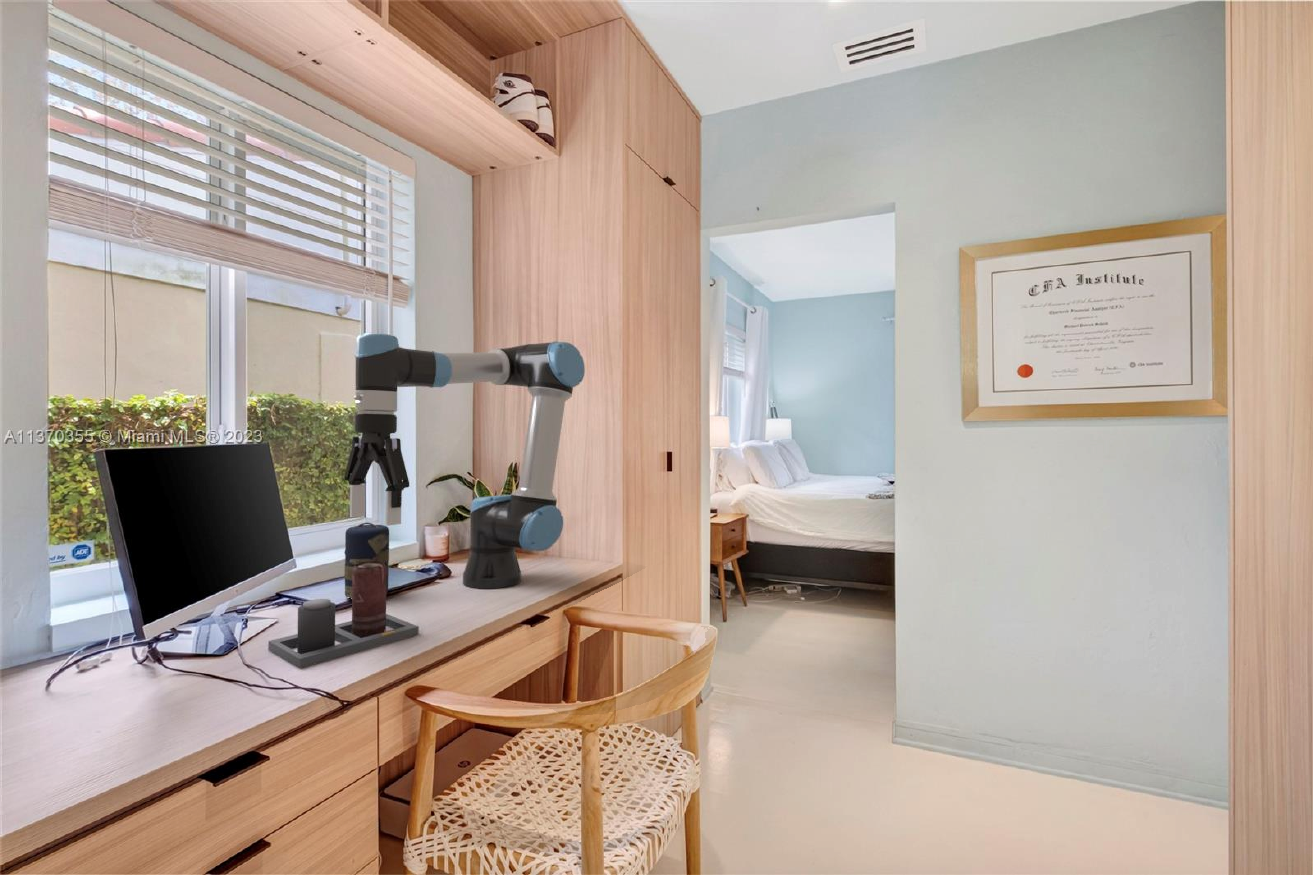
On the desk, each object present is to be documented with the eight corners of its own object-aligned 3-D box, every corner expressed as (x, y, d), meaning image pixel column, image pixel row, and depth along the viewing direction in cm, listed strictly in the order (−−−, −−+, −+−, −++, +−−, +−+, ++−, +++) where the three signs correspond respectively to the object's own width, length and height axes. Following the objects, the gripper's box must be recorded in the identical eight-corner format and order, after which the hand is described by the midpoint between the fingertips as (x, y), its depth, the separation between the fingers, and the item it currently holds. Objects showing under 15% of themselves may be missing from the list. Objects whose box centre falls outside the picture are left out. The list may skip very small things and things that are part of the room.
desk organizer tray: (384, 620, 127) (384, 612, 127) (418, 634, 120) (418, 625, 120) (268, 649, 110) (268, 639, 110) (299, 668, 102) (299, 657, 102)
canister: (359, 605, 137) (360, 527, 137) (335, 598, 142) (336, 523, 142) (396, 596, 145) (398, 522, 145) (373, 589, 150) (374, 518, 150)
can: (375, 640, 116) (376, 568, 116) (345, 637, 117) (345, 566, 116) (393, 629, 122) (394, 561, 122) (364, 627, 123) (365, 559, 122)
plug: (325, 641, 115) (326, 595, 114) (340, 649, 111) (341, 601, 111) (291, 650, 110) (292, 602, 110) (306, 658, 106) (306, 609, 106)
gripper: (326, 412, 123) (325, 515, 123) (392, 412, 108) (390, 530, 108) (363, 413, 129) (361, 511, 129) (429, 414, 114) (428, 525, 114)
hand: (374, 520), depth 119 cm, fingers open, 13 cm apart
